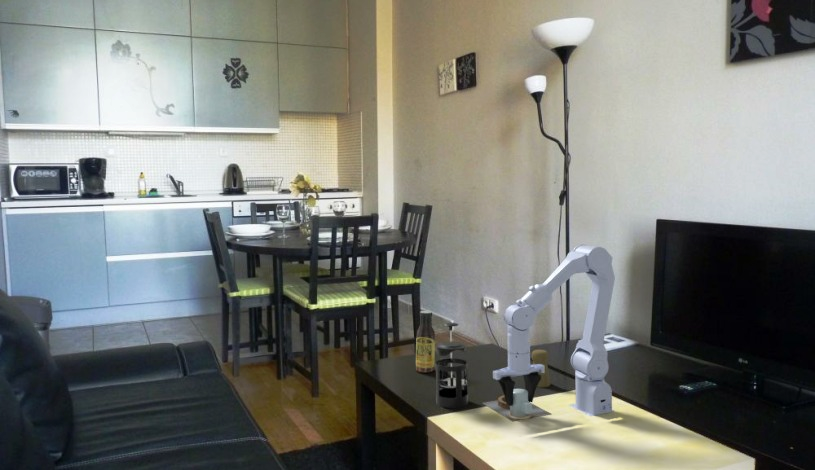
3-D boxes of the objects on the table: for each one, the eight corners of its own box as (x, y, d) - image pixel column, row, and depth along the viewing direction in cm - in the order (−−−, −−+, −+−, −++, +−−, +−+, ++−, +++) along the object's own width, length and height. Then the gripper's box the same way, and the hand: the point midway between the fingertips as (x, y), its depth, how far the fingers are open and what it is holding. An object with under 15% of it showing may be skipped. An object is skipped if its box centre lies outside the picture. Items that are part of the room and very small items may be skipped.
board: (552, 416, 167) (552, 408, 167) (512, 423, 163) (512, 416, 163) (518, 398, 182) (518, 391, 182) (481, 404, 177) (481, 397, 177)
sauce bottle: (413, 372, 210) (412, 313, 209) (418, 367, 216) (417, 309, 215) (432, 374, 209) (431, 313, 207) (437, 368, 215) (436, 310, 213)
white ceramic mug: (506, 412, 169) (505, 390, 168) (522, 409, 170) (521, 387, 170) (521, 421, 161) (521, 398, 161) (537, 418, 163) (537, 395, 163)
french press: (476, 407, 175) (474, 325, 174) (445, 413, 172) (443, 328, 170) (457, 395, 186) (455, 317, 184) (427, 400, 182) (425, 320, 181)
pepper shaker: (549, 383, 196) (549, 347, 195) (551, 389, 190) (551, 352, 189) (529, 383, 196) (528, 347, 196) (531, 389, 190) (530, 352, 190)
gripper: (533, 345, 172) (534, 394, 173) (486, 351, 167) (487, 402, 168) (549, 350, 166) (549, 402, 167) (500, 357, 160) (501, 410, 161)
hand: (519, 402), depth 167 cm, fingers open, 5 cm apart
